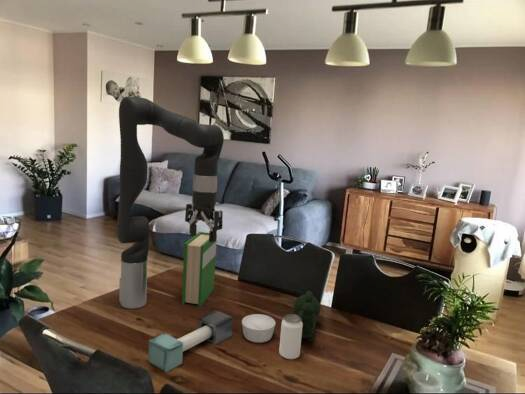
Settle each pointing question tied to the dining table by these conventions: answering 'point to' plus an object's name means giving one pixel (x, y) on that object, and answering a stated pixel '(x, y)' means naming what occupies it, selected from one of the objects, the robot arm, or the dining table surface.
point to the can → (290, 336)
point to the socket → (165, 352)
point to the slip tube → (196, 337)
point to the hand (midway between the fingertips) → (202, 239)
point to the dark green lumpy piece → (307, 314)
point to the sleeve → (217, 325)
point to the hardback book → (198, 269)
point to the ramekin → (258, 327)
